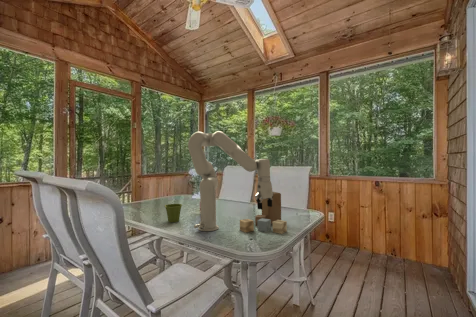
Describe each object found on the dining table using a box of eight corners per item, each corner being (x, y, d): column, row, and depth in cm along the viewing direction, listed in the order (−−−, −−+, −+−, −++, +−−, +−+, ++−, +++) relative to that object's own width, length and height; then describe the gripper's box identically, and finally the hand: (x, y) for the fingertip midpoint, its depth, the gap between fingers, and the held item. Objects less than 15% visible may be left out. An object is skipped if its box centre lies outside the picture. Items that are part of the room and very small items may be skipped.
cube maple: (281, 234, 133) (281, 223, 133) (272, 232, 136) (272, 221, 136) (286, 231, 137) (286, 221, 137) (277, 229, 141) (277, 219, 141)
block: (281, 223, 156) (281, 192, 156) (269, 225, 151) (268, 194, 152) (273, 219, 165) (273, 191, 165) (261, 221, 160) (260, 192, 161)
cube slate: (266, 232, 137) (266, 221, 137) (257, 230, 140) (257, 220, 140) (271, 229, 142) (270, 219, 142) (262, 228, 145) (262, 218, 145)
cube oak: (245, 232, 136) (245, 222, 136) (239, 230, 141) (239, 220, 141) (253, 231, 139) (253, 220, 139) (248, 228, 144) (248, 218, 144)
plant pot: (161, 223, 159) (161, 206, 159) (171, 218, 170) (170, 203, 170) (176, 224, 156) (176, 207, 156) (185, 219, 167) (185, 204, 167)
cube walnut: (264, 226, 148) (264, 217, 148) (255, 226, 150) (255, 216, 150) (266, 224, 153) (266, 215, 153) (257, 223, 155) (257, 214, 155)
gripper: (259, 180, 132) (261, 211, 132) (277, 178, 145) (278, 206, 145) (249, 180, 138) (250, 209, 137) (267, 178, 150) (268, 205, 150)
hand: (265, 207), depth 141 cm, fingers open, 9 cm apart
